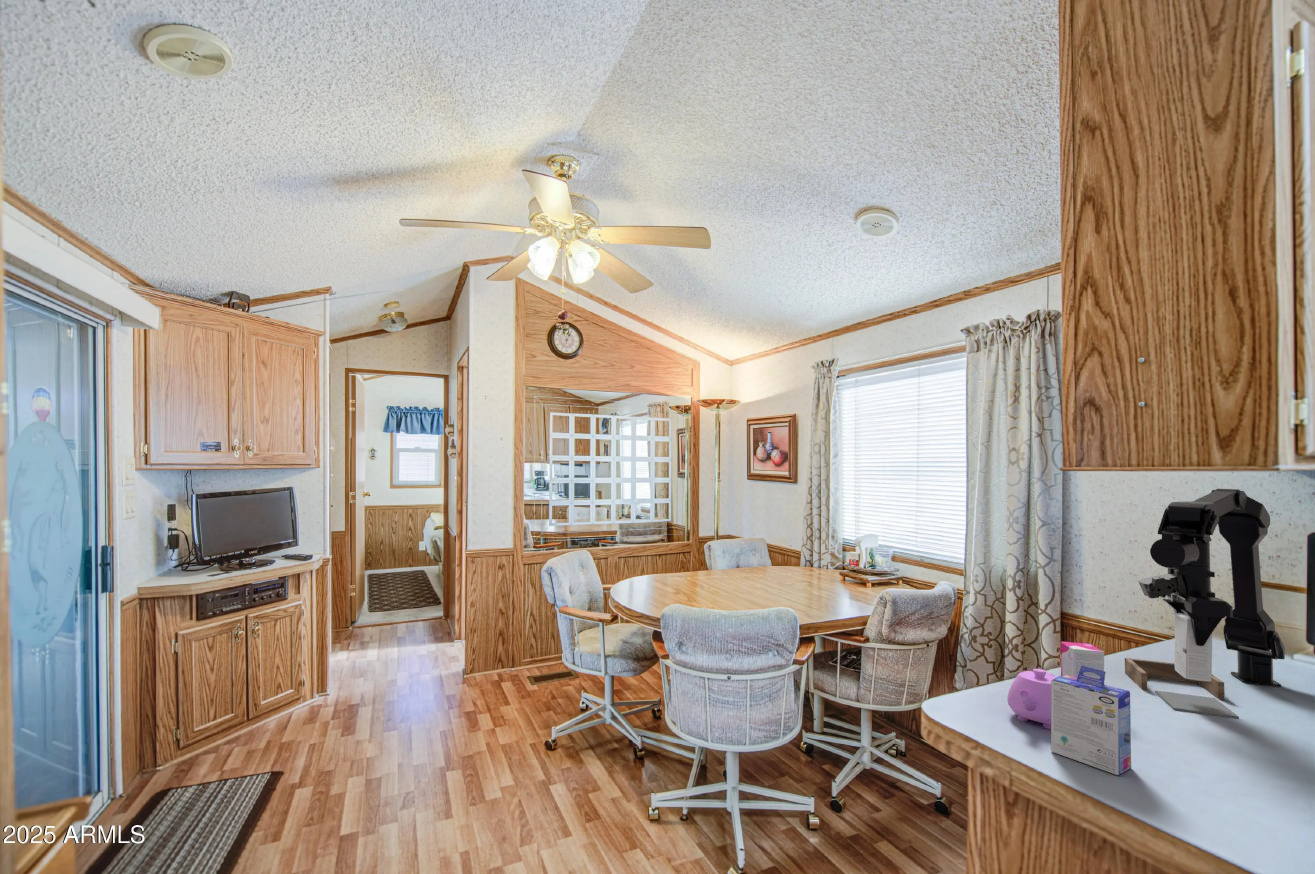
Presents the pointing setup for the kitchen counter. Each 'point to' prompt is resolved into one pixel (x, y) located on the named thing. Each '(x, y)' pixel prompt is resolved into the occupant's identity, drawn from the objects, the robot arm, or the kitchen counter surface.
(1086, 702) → the ink cartridge box
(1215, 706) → the charcoal mat
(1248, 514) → the robot arm
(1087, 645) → the supplement box
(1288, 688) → the kitchen counter surface
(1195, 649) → the skincare box
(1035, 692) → the pink rounded plastic body
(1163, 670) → the walnut u-shaped bracket
